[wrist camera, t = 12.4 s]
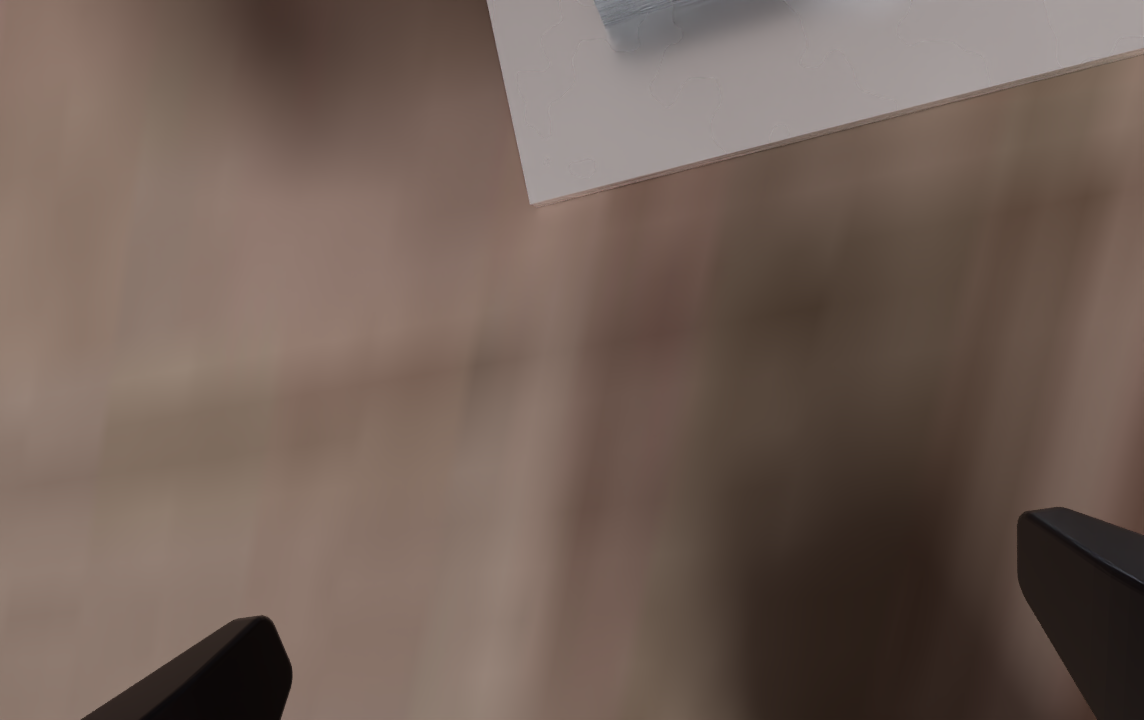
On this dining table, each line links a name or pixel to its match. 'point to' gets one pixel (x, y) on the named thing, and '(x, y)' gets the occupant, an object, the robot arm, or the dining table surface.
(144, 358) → the dining table surface
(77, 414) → the dining table surface
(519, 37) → the grey square frame
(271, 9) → the dining table surface
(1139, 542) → the robot arm
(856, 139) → the dining table surface
